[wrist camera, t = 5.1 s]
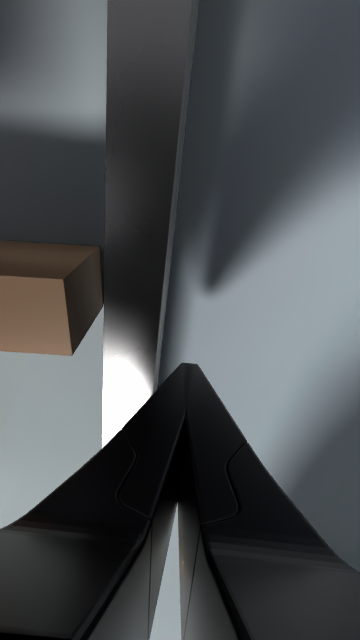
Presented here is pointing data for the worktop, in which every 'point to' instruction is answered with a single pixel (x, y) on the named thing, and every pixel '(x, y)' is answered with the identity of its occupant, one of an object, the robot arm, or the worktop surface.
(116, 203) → the bar
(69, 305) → the walnut cradle
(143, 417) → the robot arm
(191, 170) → the worktop surface
